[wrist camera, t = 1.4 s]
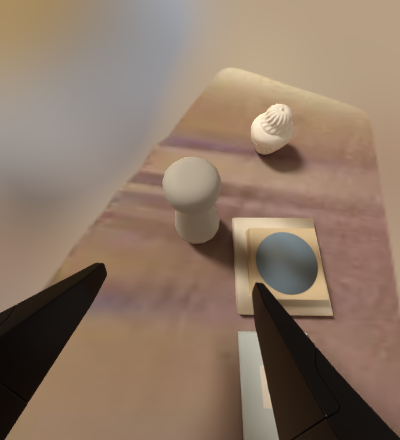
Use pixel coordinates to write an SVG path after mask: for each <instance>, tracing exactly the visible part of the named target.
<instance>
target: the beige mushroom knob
mask: <svg viewBox="0 0 400 440" xmlns="http://www.w3.org/2000/svg"><path fill="white" fill-rule="evenodd" d="M162 183H163V189H164V193H165V197H166V200H167V201H168V202H169V204H170V205H171V206H172V207H173V208H174V209H175V225H176V229H177V233H178V234H179V235H180V236H181V237H182V238H183V239H184V240H186V241H188V242H190V243H193V244H197V243H204V242H206V241H208V240H210V239H212V238H213V237H214V235H215V234H216V232H217V231H218V228H219V222H220V219H219V216H218V212H217V209H216V205H215V202H216V201H217V200H218V198H219V195H220V188H221V179H220V176H219V173H218V171H217V168H216V167H215V166H213V165H212V164H211V163H210V162H209V161H208V160H205V159H202V158H199V157H184V158H182V159H180V160H178V161H176V162H174V163H172V165H171V166H170V167H169V168H168V169H167V170H166V171H165V175H164V179H163V182H162Z"/></svg>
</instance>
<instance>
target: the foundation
mask: <svg viewBox="0 0 400 440" xmlns="http://www.w3.org/2000/svg"><path fill="white" fill-rule="evenodd" d="M232 231H233V250H234V269H235V288H236V307H237V313H238V314H248V315H254V311H253V301H252V291H253V288H254V285H255V283H256V282H259V283H263V284H264V285H265V286H266V287H267V288H268V289H269V291H270V292H271V293H272V294H273V295H274V297H275V298H276V299H277V300H278V301H279V303H280V304H281V305H282V306H283V307H284V309H285V310H286V311H287V312H288V313H289V315H309V316H333V313H332V308H331V303H330V299H329V294H328V289H327V284H326V280H325V275H324V270H323V265H322V261H321V256H320V251H319V246H318V242H317V237H316V232H315V227H314V223H313V218H233V219H232Z"/></svg>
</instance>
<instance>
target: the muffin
mask: <svg viewBox="0 0 400 440" xmlns="http://www.w3.org/2000/svg"><path fill="white" fill-rule="evenodd" d="M292 118H293V113H292V110H291V109H290V108H289V107H288V106H286V105H285V104H284V105H282V104H276V105H273V106H271V107H270V108H269V109H268V110H267V112H265V113H263V114H261V115H259V116H258V117H257V118H256V119H255V120H254V122H253V123H252V126H251V139H252V142H253V146H254V149H255V151H257V152H258V153H260V154H263V155H267V154H270V153H272V152H274V151H276V150H278V149H280V148H281V147H283V146H284V145H286V144H287V143H288V142H289V141H290V140H291V138H292V136H293V133H294V126H293V123H292Z"/></svg>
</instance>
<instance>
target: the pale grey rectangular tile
mask: <svg viewBox="0 0 400 440" xmlns="http://www.w3.org/2000/svg"><path fill="white" fill-rule="evenodd" d="M304 333H305V334H306V335H307V333H306V332H304ZM238 345H239V364H240V383H241V403H242V422H243V440H279V437H278V433H277V428H276V423H275V418H274V413H273V409H272V404H271V399H270V394H269V390H268V385H267V380H266V375H265V370H264V366H263V361H262V356H261V351H260V346H259V342H258V337H257V332H256V331H238Z"/></svg>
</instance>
